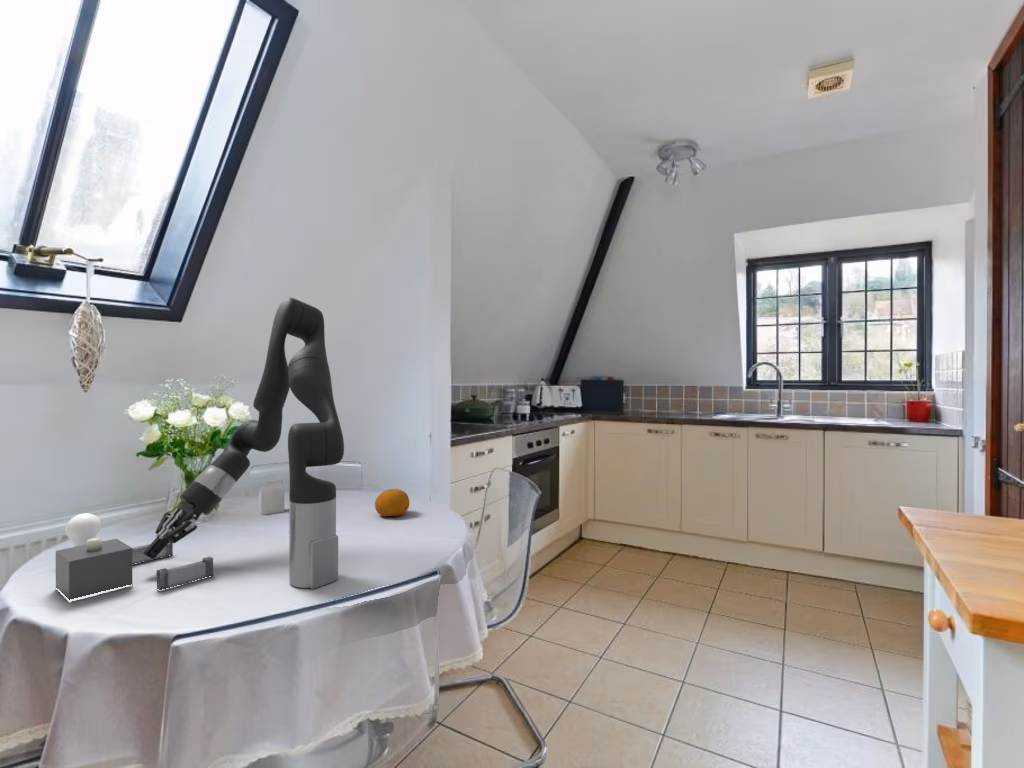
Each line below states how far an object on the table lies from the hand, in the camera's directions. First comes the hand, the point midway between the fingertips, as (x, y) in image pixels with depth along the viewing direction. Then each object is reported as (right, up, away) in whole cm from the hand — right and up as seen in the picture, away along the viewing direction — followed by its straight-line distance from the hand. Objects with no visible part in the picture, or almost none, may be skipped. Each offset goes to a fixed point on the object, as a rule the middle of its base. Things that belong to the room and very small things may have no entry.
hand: (148, 556), depth 110 cm
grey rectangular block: (+2, -4, +53) cm, 53 cm away
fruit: (+41, -4, +50) cm, 65 cm away
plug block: (-6, -4, -6) cm, 10 cm away
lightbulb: (-21, -4, +9) cm, 23 cm away
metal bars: (+2, -4, +3) cm, 5 cm away
